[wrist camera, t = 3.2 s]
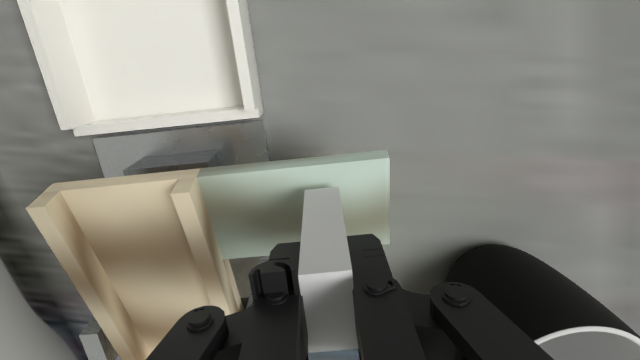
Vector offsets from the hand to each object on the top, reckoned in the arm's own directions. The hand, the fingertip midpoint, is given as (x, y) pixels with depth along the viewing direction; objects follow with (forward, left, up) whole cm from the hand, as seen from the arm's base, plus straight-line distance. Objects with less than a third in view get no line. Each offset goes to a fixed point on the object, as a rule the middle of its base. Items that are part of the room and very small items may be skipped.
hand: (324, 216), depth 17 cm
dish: (-9, -9, -9) cm, 16 cm away
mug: (+12, +12, -9) cm, 20 cm away
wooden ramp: (+7, -5, -4) cm, 10 cm away
